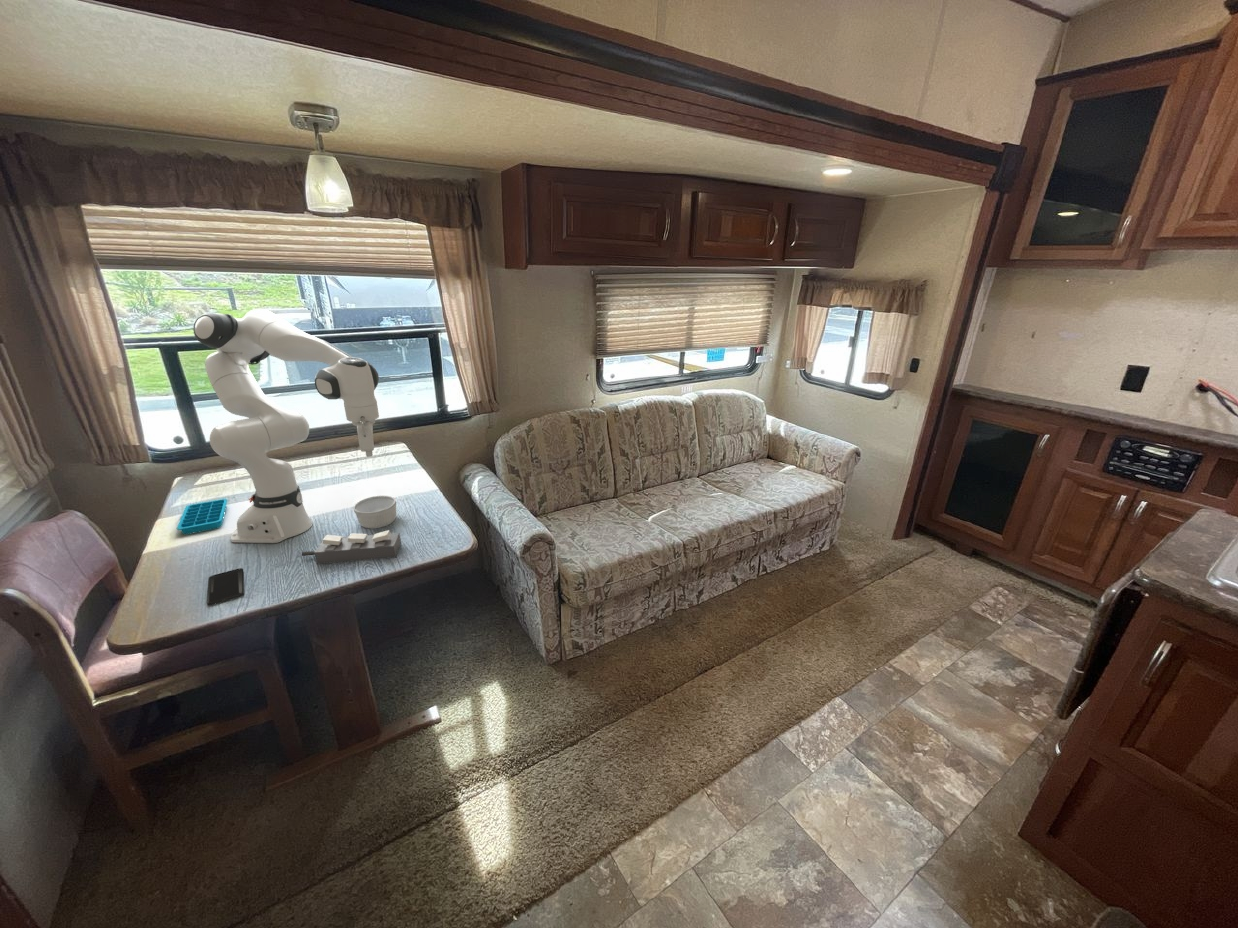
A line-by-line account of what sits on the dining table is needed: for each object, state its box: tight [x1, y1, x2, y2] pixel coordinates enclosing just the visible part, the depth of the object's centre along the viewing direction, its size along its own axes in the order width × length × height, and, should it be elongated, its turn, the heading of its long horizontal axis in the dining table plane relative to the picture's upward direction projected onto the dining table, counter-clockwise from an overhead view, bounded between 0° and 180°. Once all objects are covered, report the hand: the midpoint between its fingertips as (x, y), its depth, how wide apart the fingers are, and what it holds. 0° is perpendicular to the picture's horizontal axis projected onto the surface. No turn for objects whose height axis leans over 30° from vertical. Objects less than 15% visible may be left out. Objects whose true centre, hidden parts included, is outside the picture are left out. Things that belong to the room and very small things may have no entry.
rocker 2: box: [348, 532, 368, 543], centre depth 148 cm, size 4×3×1 cm
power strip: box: [301, 532, 402, 565], centre depth 148 cm, size 27×8×5 cm, turn 101°
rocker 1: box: [322, 534, 343, 545], centre depth 146 cm, size 4×3×1 cm
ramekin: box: [352, 495, 397, 530], centre depth 167 cm, size 13×13×7 cm
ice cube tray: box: [176, 498, 228, 536], centre depth 167 cm, size 12×20×3 cm, turn 32°
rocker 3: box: [373, 529, 392, 543], centre depth 149 cm, size 4×3×1 cm
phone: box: [206, 567, 245, 607], centre depth 133 cm, size 8×1×15 cm
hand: (369, 455), depth 152 cm, fingers closed
